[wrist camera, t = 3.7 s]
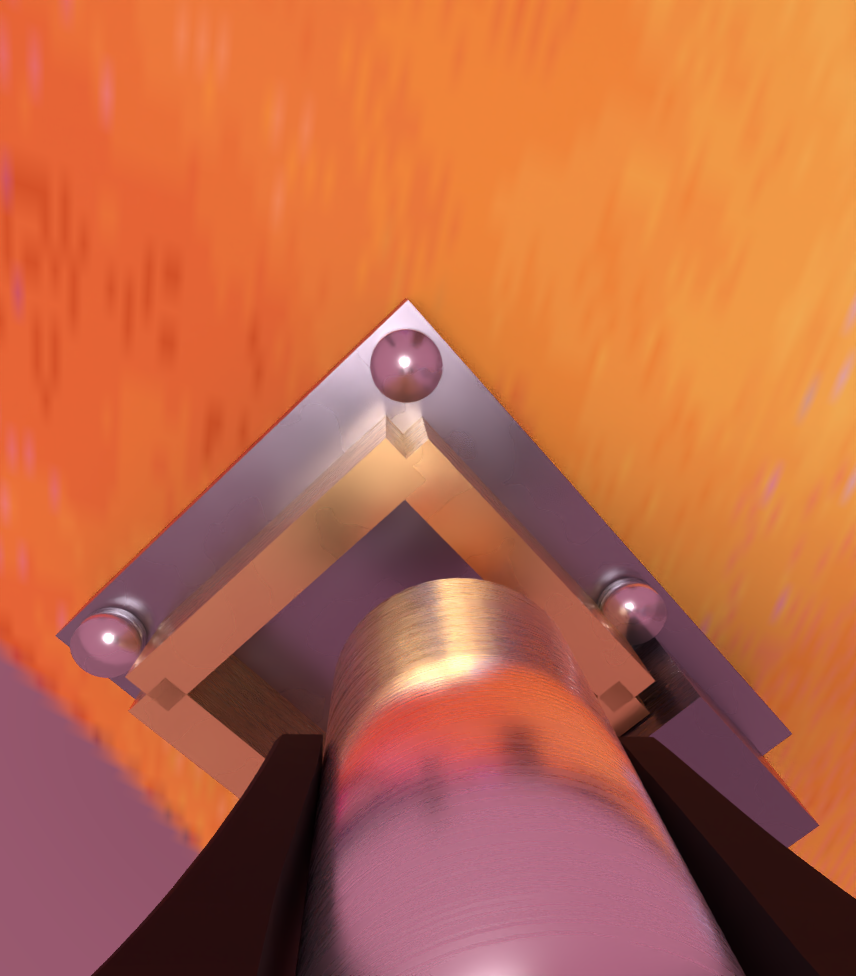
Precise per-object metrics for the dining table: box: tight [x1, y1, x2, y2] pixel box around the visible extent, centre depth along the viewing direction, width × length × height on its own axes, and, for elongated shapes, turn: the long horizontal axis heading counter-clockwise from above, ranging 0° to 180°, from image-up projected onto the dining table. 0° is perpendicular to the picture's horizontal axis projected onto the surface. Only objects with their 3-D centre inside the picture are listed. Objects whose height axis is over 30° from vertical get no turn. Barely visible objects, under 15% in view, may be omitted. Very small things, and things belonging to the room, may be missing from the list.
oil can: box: [295, 578, 746, 976], centre depth 8 cm, size 4×4×9 cm
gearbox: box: [56, 298, 819, 848], centre depth 17 cm, size 16×12×5 cm
